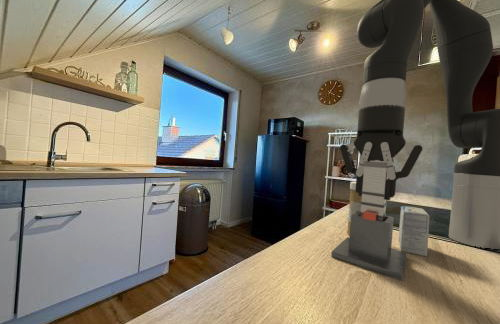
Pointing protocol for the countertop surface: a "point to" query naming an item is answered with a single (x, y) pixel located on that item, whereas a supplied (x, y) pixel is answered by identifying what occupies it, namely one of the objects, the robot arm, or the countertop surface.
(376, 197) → the column
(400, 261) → the stand base
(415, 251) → the medicine box
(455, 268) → the countertop surface
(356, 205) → the sprinkles bottle
